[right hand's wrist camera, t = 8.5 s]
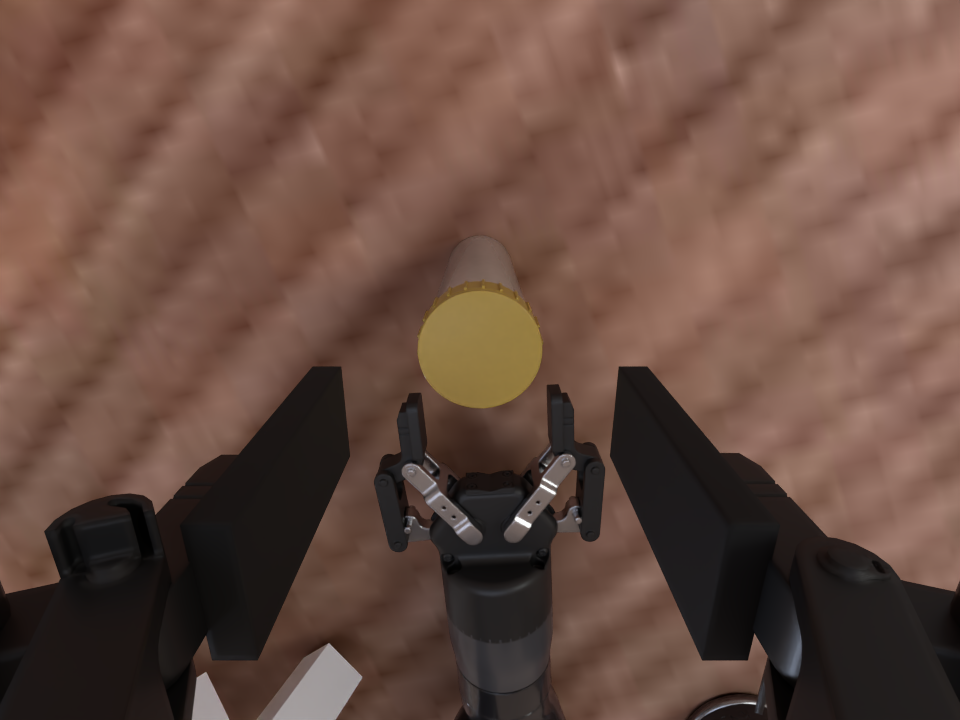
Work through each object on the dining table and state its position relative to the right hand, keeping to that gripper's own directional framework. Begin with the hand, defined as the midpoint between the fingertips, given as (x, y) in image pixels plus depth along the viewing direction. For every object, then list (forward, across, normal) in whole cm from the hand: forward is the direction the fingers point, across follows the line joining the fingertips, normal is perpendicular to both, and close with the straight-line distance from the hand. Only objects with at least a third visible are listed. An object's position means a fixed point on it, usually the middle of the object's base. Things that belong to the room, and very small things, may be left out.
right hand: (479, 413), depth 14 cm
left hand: (+16, 0, +6) cm, 17 cm away
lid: (+5, 0, 0) cm, 5 cm away
